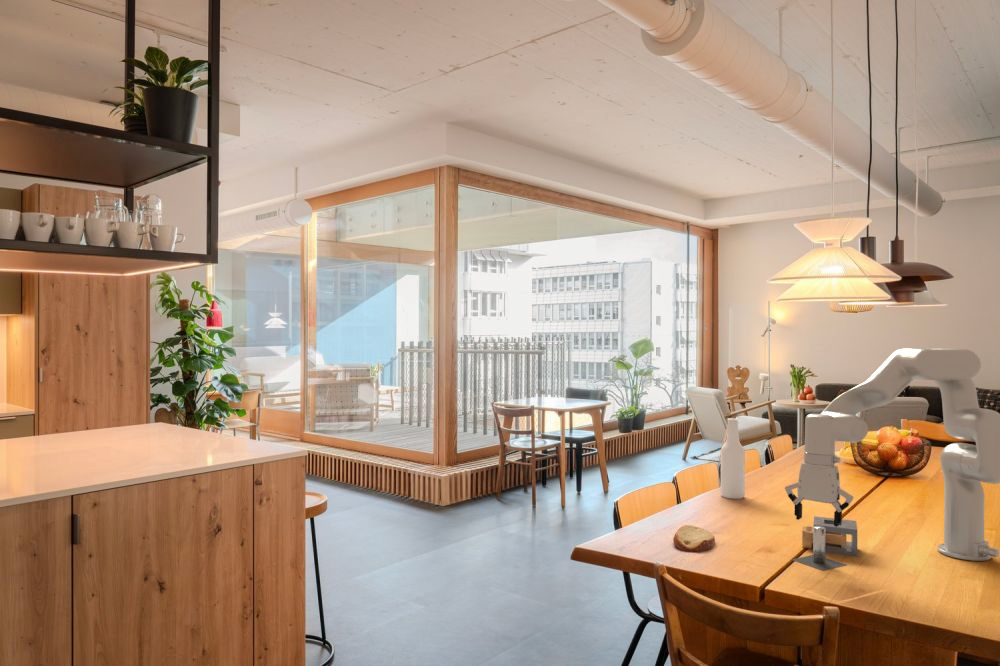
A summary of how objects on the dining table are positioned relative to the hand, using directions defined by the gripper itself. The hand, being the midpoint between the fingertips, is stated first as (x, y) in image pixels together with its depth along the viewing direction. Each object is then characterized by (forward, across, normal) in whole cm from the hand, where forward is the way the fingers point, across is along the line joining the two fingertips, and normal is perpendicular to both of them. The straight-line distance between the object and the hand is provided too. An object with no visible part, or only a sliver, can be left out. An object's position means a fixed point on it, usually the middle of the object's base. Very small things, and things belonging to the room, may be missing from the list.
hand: (817, 522), depth 187 cm
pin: (+11, 0, -1) cm, 11 cm away
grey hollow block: (+11, 0, -16) cm, 19 cm away
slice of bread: (+13, +35, +2) cm, 37 cm away
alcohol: (+11, +45, -61) cm, 77 cm away
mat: (+11, 0, -1) cm, 11 cm away
